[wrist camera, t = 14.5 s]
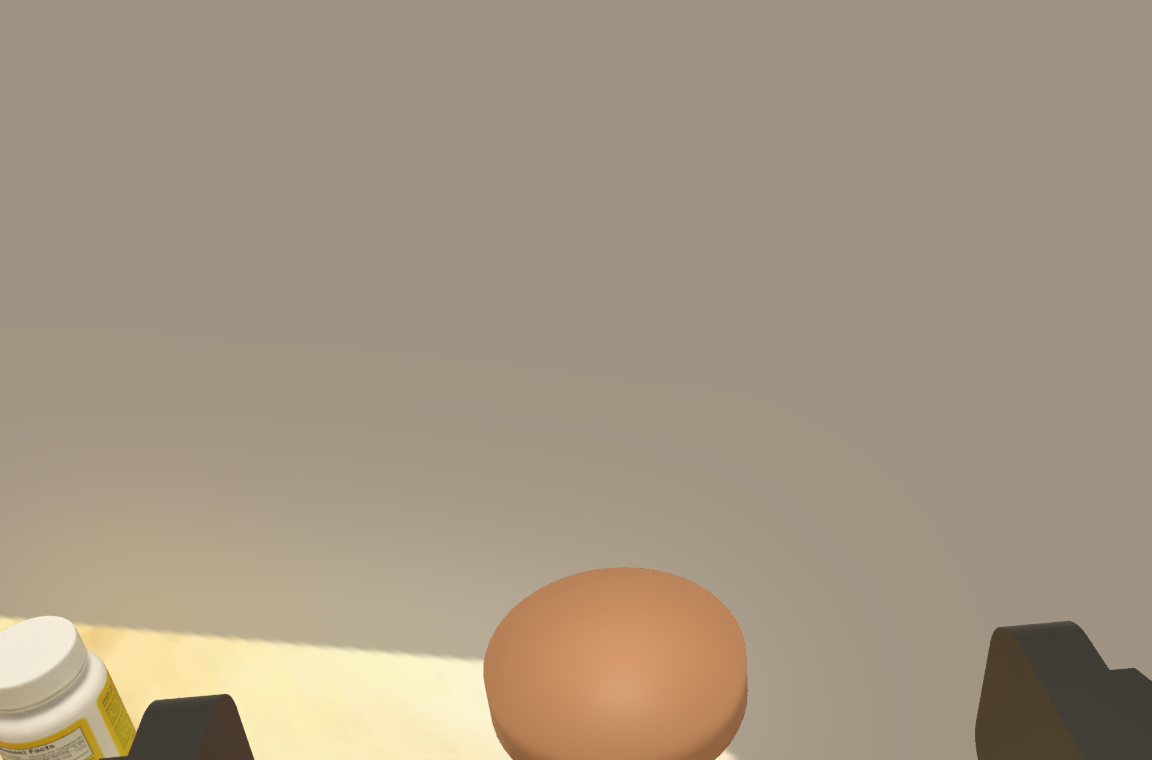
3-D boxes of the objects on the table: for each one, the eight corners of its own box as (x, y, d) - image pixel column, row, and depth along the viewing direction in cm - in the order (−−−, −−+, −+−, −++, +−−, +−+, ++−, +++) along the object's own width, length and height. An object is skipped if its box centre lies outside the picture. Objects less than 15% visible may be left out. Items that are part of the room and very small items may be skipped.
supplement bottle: (98, 735, 48) (32, 597, 44) (174, 763, 46) (113, 621, 42) (12, 820, 44) (-69, 677, 40) (91, 854, 43) (15, 708, 38)
